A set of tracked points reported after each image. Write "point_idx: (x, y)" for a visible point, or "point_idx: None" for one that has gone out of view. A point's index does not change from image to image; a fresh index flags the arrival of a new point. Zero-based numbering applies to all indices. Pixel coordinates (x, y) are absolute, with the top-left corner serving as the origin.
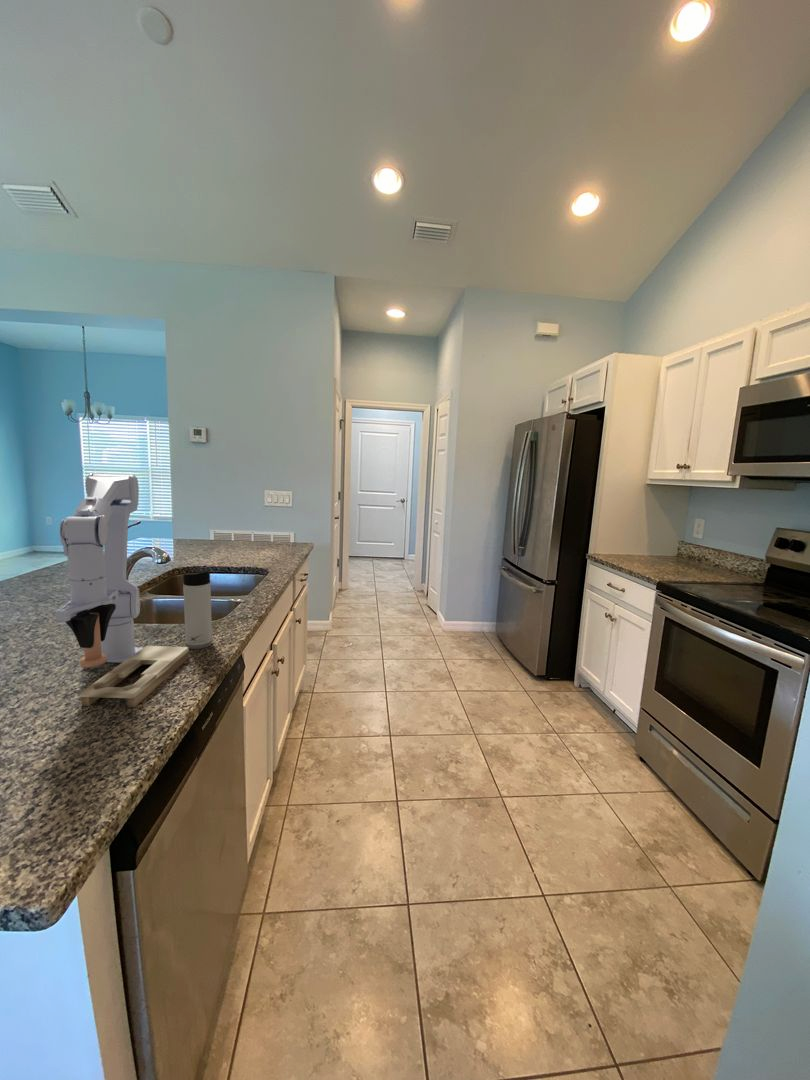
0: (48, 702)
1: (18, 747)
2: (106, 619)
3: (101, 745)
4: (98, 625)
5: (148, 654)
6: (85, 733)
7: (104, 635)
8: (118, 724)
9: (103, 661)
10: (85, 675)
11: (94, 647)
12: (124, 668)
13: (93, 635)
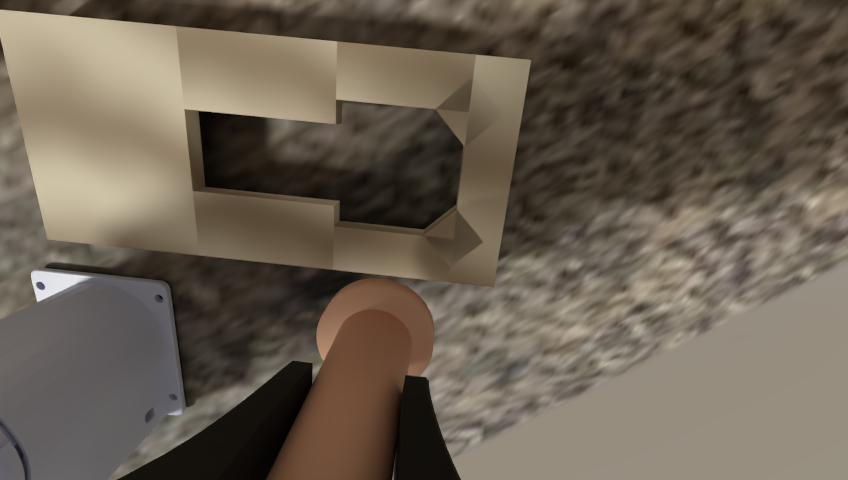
0: (457, 368)
1: (712, 308)
2: (211, 478)
3: (783, 56)
4: (314, 477)
5: (132, 186)
6: (680, 157)
7: (287, 379)
8: (643, 67)
9: (388, 284)
10: (277, 357)
11: (390, 366)
12: (285, 224)
13: (408, 427)
